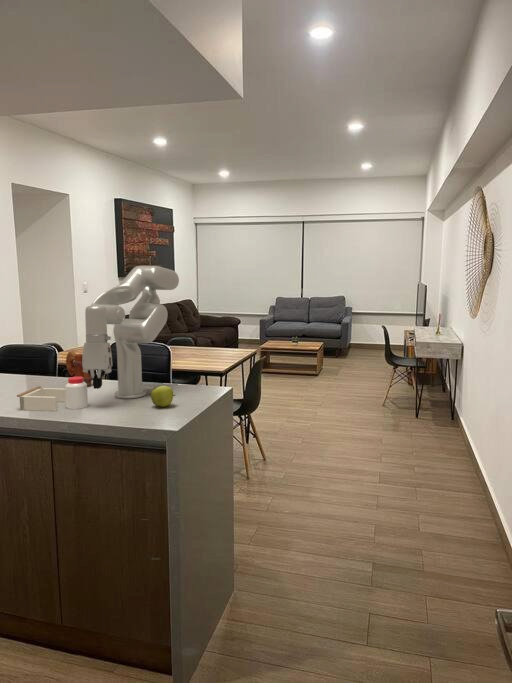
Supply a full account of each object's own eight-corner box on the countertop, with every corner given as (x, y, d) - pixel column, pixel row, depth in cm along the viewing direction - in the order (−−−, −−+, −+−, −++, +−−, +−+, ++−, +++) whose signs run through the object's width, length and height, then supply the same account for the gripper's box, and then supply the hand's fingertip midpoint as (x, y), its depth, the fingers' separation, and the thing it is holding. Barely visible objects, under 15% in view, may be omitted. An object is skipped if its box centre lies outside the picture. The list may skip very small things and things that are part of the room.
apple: (178, 407, 191) (178, 386, 190) (155, 410, 186) (154, 389, 185) (171, 402, 198) (170, 382, 197) (148, 405, 193) (148, 385, 192)
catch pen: (73, 401, 200) (72, 387, 199) (55, 411, 186) (54, 396, 185) (38, 400, 201) (37, 386, 201) (17, 409, 187) (16, 395, 186)
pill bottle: (80, 402, 198) (79, 375, 196) (92, 406, 193) (90, 377, 191) (62, 406, 192) (60, 378, 190) (73, 410, 187) (72, 381, 185)
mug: (98, 385, 228) (96, 352, 225) (83, 388, 221) (81, 354, 219) (76, 381, 235) (74, 349, 233) (61, 384, 228) (59, 351, 226)
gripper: (119, 338, 190) (120, 386, 192) (81, 337, 192) (82, 385, 194) (112, 340, 183) (113, 390, 185) (72, 339, 185) (73, 389, 186)
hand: (97, 387), depth 189 cm, fingers closed
